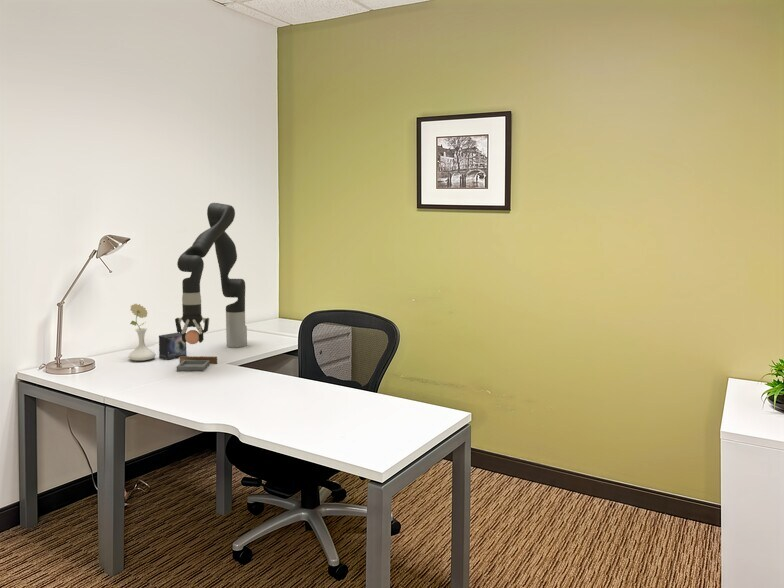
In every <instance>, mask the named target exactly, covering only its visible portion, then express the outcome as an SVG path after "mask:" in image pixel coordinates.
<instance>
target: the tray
mask: <svg viewBox="0 0 784 588" xmlns="http://www.w3.org/2000/svg"><path fill="white" fill-rule="evenodd" d="M210 365H211V364H210V360H184V361H183V362H181V363H180V362H179V364H178V365H177V366H176V367H175V369H176V372H204V371H205V370H206V369H207V368H208V367H210Z"/></svg>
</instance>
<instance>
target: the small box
mask: <svg viewBox="0 0 784 588" xmlns="http://www.w3.org/2000/svg"><path fill="white" fill-rule="evenodd" d="M158 351H159V352H158V353H159V355H158V358H159V359H162V360H166V361H168V360H173V359H178V358H179V357H180V356H187V342H186V343H184V342H183V341H182V334H181V333H180V332H172V333H166V334H161V335H158Z"/></svg>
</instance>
